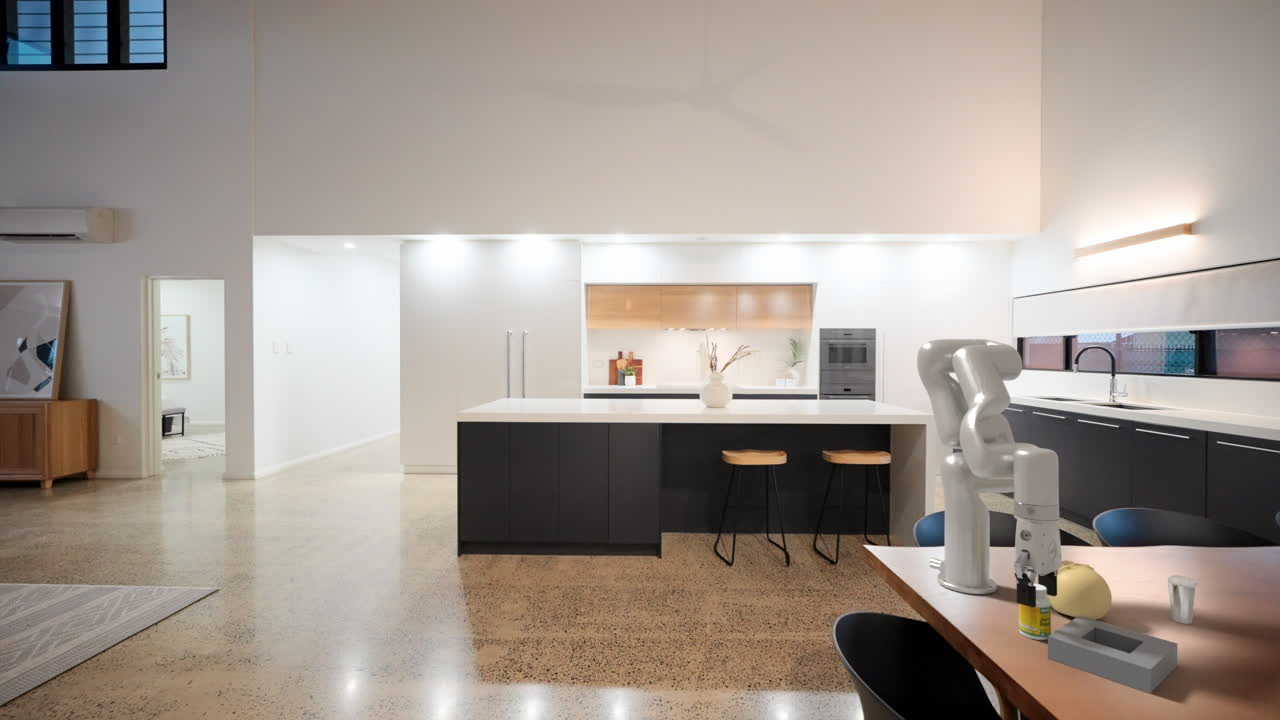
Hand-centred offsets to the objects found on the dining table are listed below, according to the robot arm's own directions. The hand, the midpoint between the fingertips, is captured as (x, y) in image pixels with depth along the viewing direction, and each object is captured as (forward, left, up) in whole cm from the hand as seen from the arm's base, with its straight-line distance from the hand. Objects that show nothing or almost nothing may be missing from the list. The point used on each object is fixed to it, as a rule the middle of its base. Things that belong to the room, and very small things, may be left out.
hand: (1037, 599), depth 124 cm
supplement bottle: (-1, 0, -8) cm, 7 cm away
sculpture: (0, +18, -8) cm, 20 cm away
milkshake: (+15, +31, -7) cm, 36 cm away
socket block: (+12, -1, -7) cm, 14 cm away
